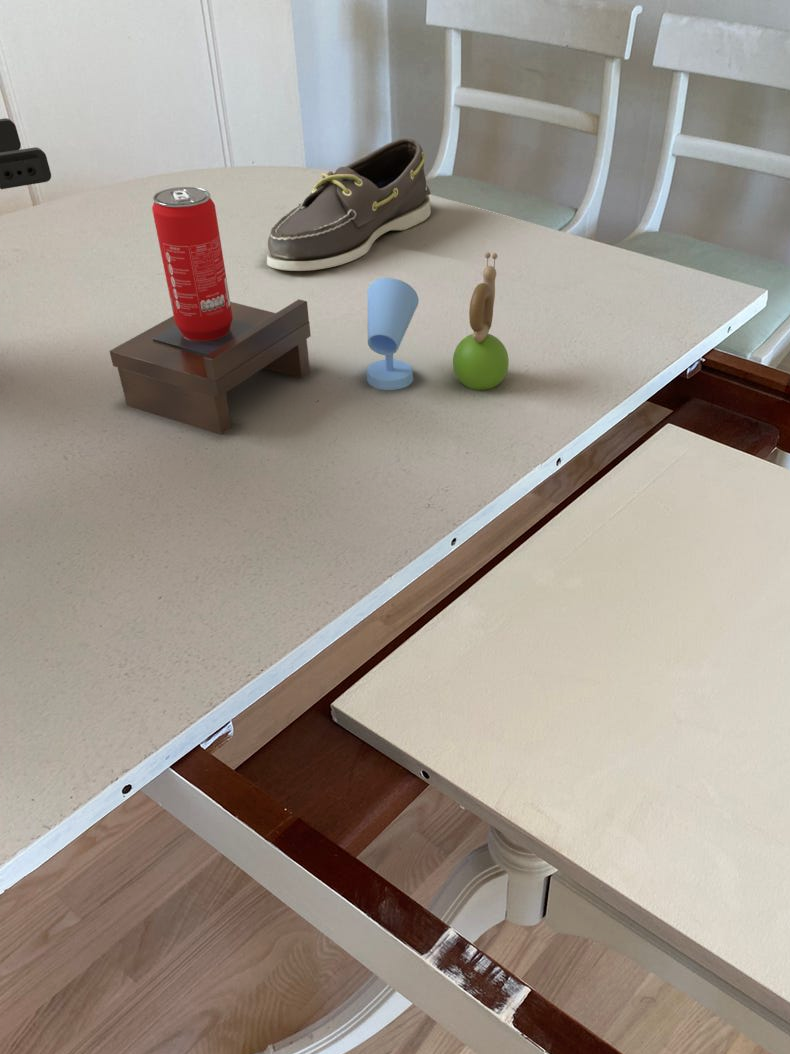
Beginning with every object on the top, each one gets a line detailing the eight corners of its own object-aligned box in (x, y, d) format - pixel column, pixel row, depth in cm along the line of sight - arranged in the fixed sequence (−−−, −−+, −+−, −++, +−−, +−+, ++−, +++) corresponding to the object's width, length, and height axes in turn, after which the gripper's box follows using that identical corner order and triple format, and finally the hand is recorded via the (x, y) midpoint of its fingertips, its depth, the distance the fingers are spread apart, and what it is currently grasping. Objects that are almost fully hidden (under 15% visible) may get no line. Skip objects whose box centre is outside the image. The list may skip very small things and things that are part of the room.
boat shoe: (239, 269, 117) (228, 189, 111) (386, 200, 137) (383, 129, 131) (311, 289, 113) (303, 208, 107) (452, 215, 133) (452, 143, 127)
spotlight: (374, 365, 99) (359, 397, 94) (368, 267, 92) (352, 296, 87) (421, 369, 99) (409, 401, 94) (419, 271, 92) (406, 300, 87)
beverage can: (183, 347, 88) (156, 209, 79) (172, 324, 91) (144, 189, 83) (240, 338, 89) (219, 201, 81) (227, 315, 93) (205, 183, 85)
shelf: (124, 410, 91) (103, 329, 86) (218, 352, 101) (205, 276, 95) (227, 443, 87) (212, 359, 82) (315, 379, 97) (307, 300, 91)
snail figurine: (514, 374, 98) (520, 254, 90) (501, 403, 94) (506, 280, 86) (462, 367, 99) (463, 248, 91) (446, 396, 95) (446, 274, 87)
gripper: (-196, 209, 74) (22, 174, 81) (-170, 273, 66) (72, 228, 72) (-245, 99, 69) (-7, 72, 76) (-223, 154, 60) (43, 117, 67)
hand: (31, 148), depth 74 cm, fingers open, 8 cm apart
